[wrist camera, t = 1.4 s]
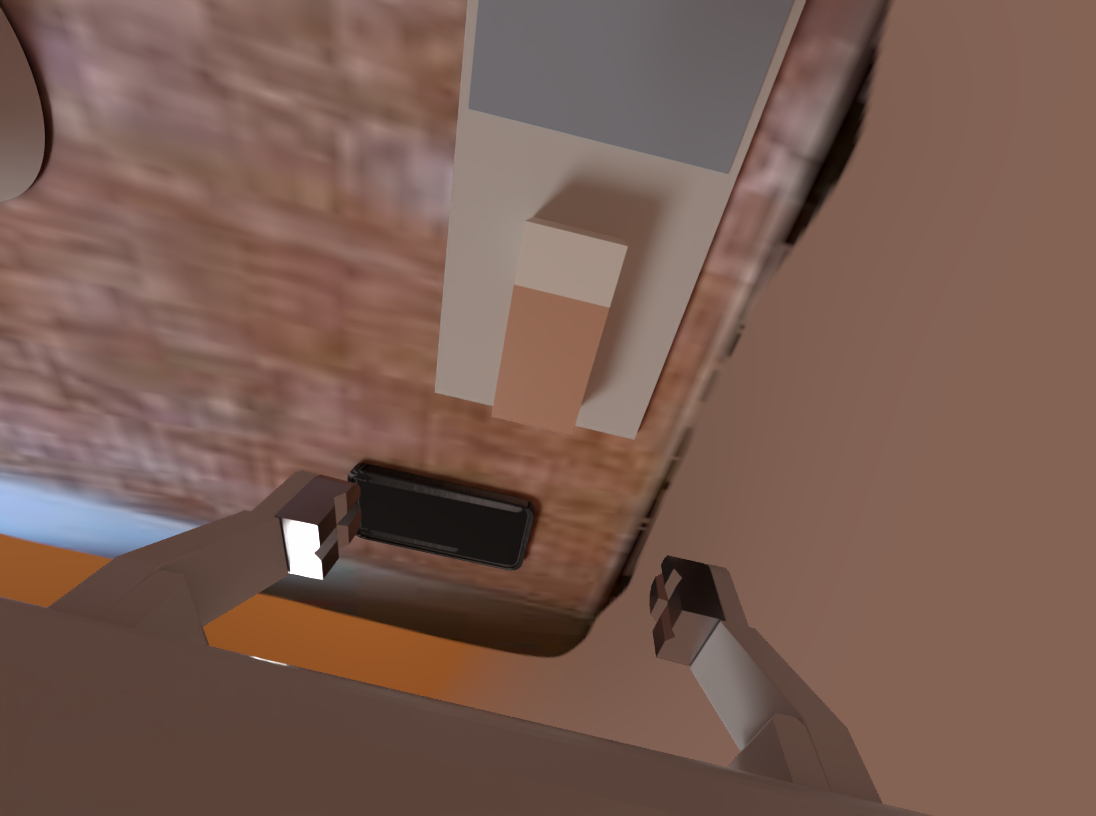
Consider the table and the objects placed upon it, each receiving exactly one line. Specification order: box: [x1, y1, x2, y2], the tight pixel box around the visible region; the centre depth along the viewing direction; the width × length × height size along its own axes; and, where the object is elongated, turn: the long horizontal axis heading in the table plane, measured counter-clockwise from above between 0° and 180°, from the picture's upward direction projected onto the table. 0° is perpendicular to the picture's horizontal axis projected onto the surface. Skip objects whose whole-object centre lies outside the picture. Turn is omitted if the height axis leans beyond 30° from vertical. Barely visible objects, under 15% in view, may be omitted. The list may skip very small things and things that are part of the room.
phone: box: [348, 464, 535, 571], centre depth 34 cm, size 8×1×15 cm
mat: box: [435, 0, 806, 439], centre depth 21 cm, size 14×26×1 cm, turn 168°
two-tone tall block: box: [491, 217, 628, 435], centre depth 23 cm, size 11×5×3 cm, turn 168°
